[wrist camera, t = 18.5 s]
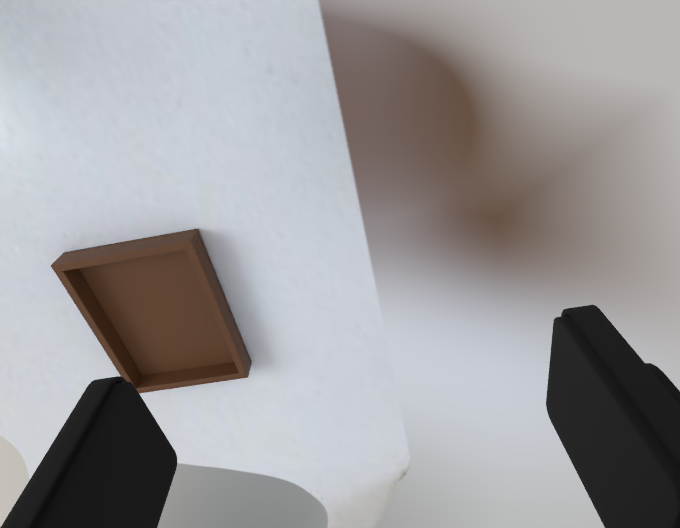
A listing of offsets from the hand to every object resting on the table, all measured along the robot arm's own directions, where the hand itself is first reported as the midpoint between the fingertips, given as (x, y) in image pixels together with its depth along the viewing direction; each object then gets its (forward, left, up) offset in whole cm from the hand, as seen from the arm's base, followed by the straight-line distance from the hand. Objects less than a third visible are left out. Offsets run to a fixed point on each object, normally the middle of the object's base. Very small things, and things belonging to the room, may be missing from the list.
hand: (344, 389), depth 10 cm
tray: (+28, +2, -30) cm, 41 cm away
